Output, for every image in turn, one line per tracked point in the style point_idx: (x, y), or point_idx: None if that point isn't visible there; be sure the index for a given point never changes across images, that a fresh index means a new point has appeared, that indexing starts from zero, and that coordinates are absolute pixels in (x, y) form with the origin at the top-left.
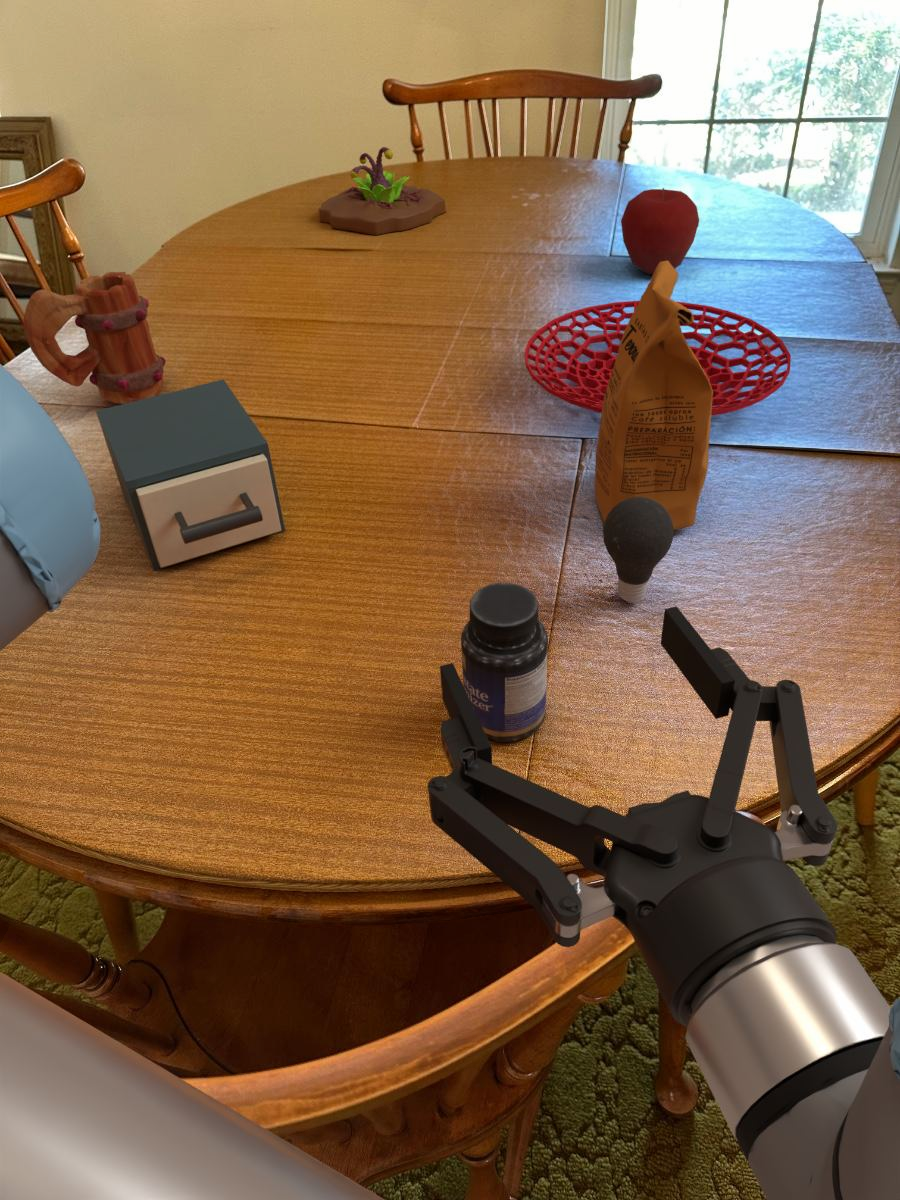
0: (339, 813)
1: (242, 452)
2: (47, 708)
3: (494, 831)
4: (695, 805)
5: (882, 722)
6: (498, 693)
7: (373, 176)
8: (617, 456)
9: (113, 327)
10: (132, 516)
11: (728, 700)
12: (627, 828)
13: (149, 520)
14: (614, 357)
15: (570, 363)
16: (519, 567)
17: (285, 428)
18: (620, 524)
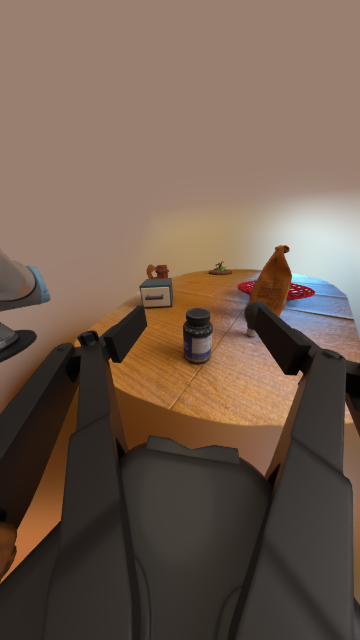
0: (132, 366)
1: (164, 285)
2: (103, 324)
3: (25, 395)
4: (240, 494)
5: None
6: (190, 343)
7: (219, 266)
8: (254, 296)
9: (160, 272)
10: None
11: (300, 362)
12: (93, 490)
13: (142, 295)
14: None
15: (248, 289)
16: (220, 322)
17: (184, 293)
18: (250, 307)
